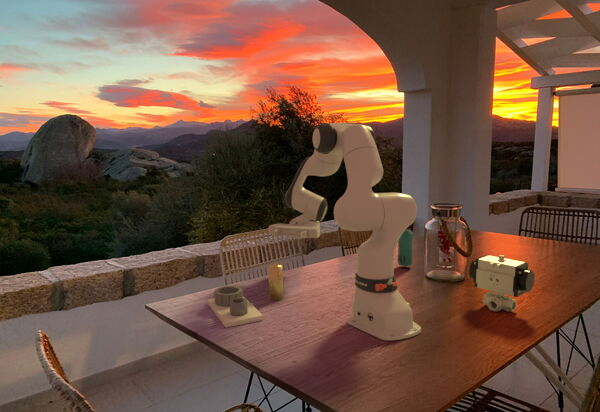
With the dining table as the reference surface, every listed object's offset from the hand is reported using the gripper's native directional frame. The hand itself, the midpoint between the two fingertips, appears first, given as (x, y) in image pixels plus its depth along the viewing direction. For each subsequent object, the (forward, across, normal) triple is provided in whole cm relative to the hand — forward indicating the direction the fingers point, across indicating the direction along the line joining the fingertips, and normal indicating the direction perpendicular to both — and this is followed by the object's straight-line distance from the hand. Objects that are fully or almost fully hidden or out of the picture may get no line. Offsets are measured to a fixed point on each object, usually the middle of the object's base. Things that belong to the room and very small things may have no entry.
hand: (287, 234), depth 158 cm
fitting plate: (+28, -8, +20) cm, 36 cm away
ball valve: (0, +73, +20) cm, 76 cm away
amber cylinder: (+12, 0, +20) cm, 24 cm away
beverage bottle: (-40, +40, +21) cm, 60 cm away
